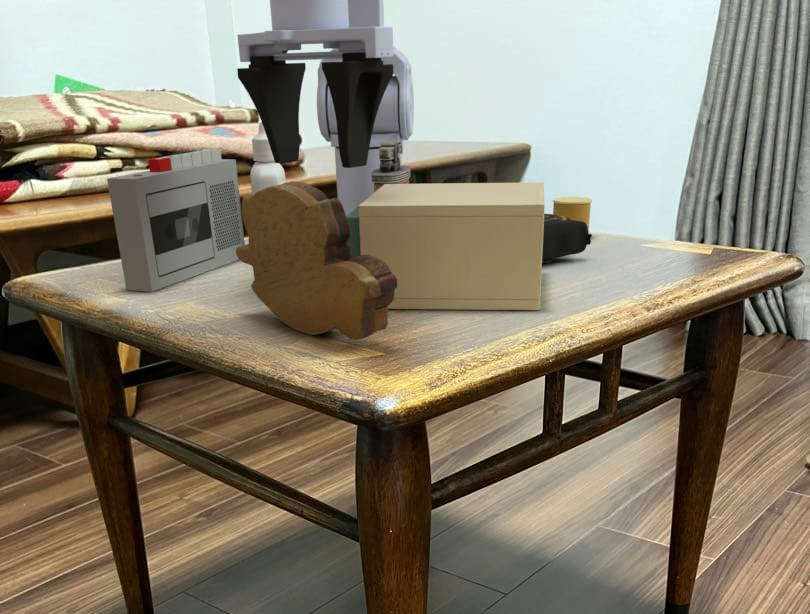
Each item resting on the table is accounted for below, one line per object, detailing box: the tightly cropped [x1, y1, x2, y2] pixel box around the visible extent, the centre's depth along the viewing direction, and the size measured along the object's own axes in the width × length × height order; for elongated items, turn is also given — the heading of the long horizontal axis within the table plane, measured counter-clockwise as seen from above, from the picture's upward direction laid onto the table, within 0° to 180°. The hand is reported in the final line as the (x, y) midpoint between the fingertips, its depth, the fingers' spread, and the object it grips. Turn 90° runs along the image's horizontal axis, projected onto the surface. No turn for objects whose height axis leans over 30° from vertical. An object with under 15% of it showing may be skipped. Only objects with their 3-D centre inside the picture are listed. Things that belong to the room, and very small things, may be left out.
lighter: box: [371, 141, 412, 193], centre depth 87 cm, size 8×3×10 cm, turn 168°
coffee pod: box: [552, 196, 593, 234], centre depth 92 cm, size 4×4×4 cm
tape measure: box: [542, 213, 593, 264], centre depth 82 cm, size 7×7×4 cm
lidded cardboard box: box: [358, 182, 546, 311], centre depth 71 cm, size 14×13×8 cm
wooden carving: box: [236, 181, 397, 340], centre depth 61 cm, size 16×5×10 cm, turn 45°
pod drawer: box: [346, 207, 361, 258], centre depth 71 cm, size 17×11×6 cm
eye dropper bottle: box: [249, 121, 287, 194], centre depth 87 cm, size 4×6×12 cm
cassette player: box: [106, 148, 246, 293], centre depth 80 cm, size 16×3×10 cm, turn 158°
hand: (319, 164), depth 70 cm, fingers open, 7 cm apart
